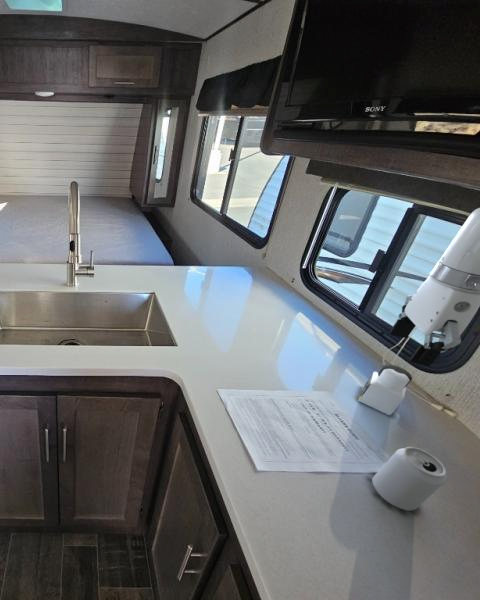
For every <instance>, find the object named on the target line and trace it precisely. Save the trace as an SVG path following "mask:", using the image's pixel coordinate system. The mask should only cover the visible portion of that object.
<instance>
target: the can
mask: <svg viewBox="0 0 480 600" xmlns="http://www.w3.org/2000/svg"><path fill="white" fill-rule="evenodd" d="M447 474H448V473H447V469H446V467H445V466H444V464H443V463H442V462H441V460H439V458H437V457H436V456H434V455H433V454H431V453H430V452H428V451H426V450H424V449H421V448H419V447H415V446H407V447H405V448H404V447H402V448H398V449H397V450H396V451H395V452H394V453H393V454H392V455H391V457H390V458H389V459H388V460H387V461H386V462H385V463H384V464H383V466H381V468H380V469H379V470H378V471H377V472H376V473H375V474H374V476H373V477H372V478H371V479H372V480H371V482H372V485H373V488H374V489H375V491H376V492H377V493H378V495H380V496H381V498H383V499H384V500H385V501H386V502H387V503H389V504H391V505H392V506H394V507H396V508H398V509H401V510H404V511H414V510H417V509H418V508H419V507H420V506H421V505H422V504H424V502H426V500H428V499H429V498H430V497H431V496H432V495H434V494H435V493H436V492H437V491H438V490H439V489H440V488H441V487H442V486H444V484H446V482H447Z"/></svg>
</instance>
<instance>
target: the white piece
mask: <svg viewBox="0 0 480 600" xmlns="http://www.w3.org/2000/svg"><path fill="white" fill-rule="evenodd" d="M412 380H413V375H412V374H411V373H410V372H409V371H407V370H406V369H404V368H403V367H401V366H398V365H395V364H384V365H383V366H382V367H381V368H380V370H378V372H377V371H373V372H372V373H371V375H370V376H369V378H368V379H367V381H366V382H365V384H364V385H363V387H362V388H361V391H360V394H359V398H358V402H360V403H363V404H364V405H367V406H369V407H370V408H372V409H375V410H376V411H379V412H381V413H383V414H385V415H388V416H391V415H392V414H394V412H395V411H396V410H397V408H398V407H399V405H400V404H401V403H402V402H403V401H404V400H405V396H406V392H407V391H406V390H407V386H408V385H409V384H410V382H411V381H412Z"/></svg>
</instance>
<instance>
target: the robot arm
mask: <svg viewBox="0 0 480 600" xmlns="http://www.w3.org/2000/svg"><path fill="white" fill-rule="evenodd" d="M479 308H480V207H478V208H475V210H473V211H472V212H471V213H470V215H469V216H468V217H467V219H466V220H465V222H464V223H463V224H462V226H461V227H460V229H459V230H458V232H457V233H456V235H455V236H454V238H453V239H452V241H451V242H450V243H449V246H448V247H447V248H446V249H445V251H444V253H443V254H442V255H441V257H440V258H439V260H438V261H437V263H436V264H435V266H434V268H432V270H431V272H430V273H429V275H428V277H427V278H426V279H425V280H424V282H422V284H421V285H420V286H419V287H418V289H417V290H416V291H415V292H414V294H413V295H407V296H406V298H405V301H404V304H403V306H401V313H399V314H398V316H397V317H398V318H397V320H396V321H395V323H394V324H393V326H392V327H391V329H390V330H389V331H388V334H389V335H390V336H394V337H399V338H404V339H407V338H408V337H410V334H411V333H412V332H413V330H414V329H415V328H416V327H417V329H418V330H419V331H420V332H421V333H423V334H424V341H423V344H419V346H418V347H417V348H416V350H415V351H414V353H412V355H411V356H410V358H409V361H410V362H411V363H413V364H418V365H421V366H426V367H427V366H428V367H429V366H431V365H432V364H433V363H434V362H435V360H436V359H437V358H438V357H439V356H440V355H441V353H445V352H447V351H450V350H451V351H452V349H453V348H455V347H457V346H459V345H461V343H462V339H461V335H462V334H463V332H464V331H465V330H466V328H467V327H468V326H469V324H470V323H471V321H472V320H473V318H474V316H475V315H476V313H477V312H478V310H479ZM434 338H437V339H438V341H434Z"/></svg>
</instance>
